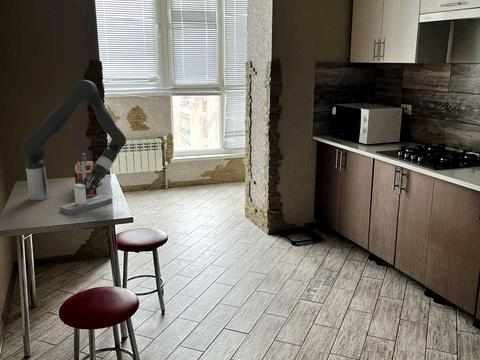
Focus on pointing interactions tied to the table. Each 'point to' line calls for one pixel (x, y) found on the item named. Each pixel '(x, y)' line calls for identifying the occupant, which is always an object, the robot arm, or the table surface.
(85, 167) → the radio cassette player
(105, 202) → the fader console
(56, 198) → the table surface
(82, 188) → the fader tab
